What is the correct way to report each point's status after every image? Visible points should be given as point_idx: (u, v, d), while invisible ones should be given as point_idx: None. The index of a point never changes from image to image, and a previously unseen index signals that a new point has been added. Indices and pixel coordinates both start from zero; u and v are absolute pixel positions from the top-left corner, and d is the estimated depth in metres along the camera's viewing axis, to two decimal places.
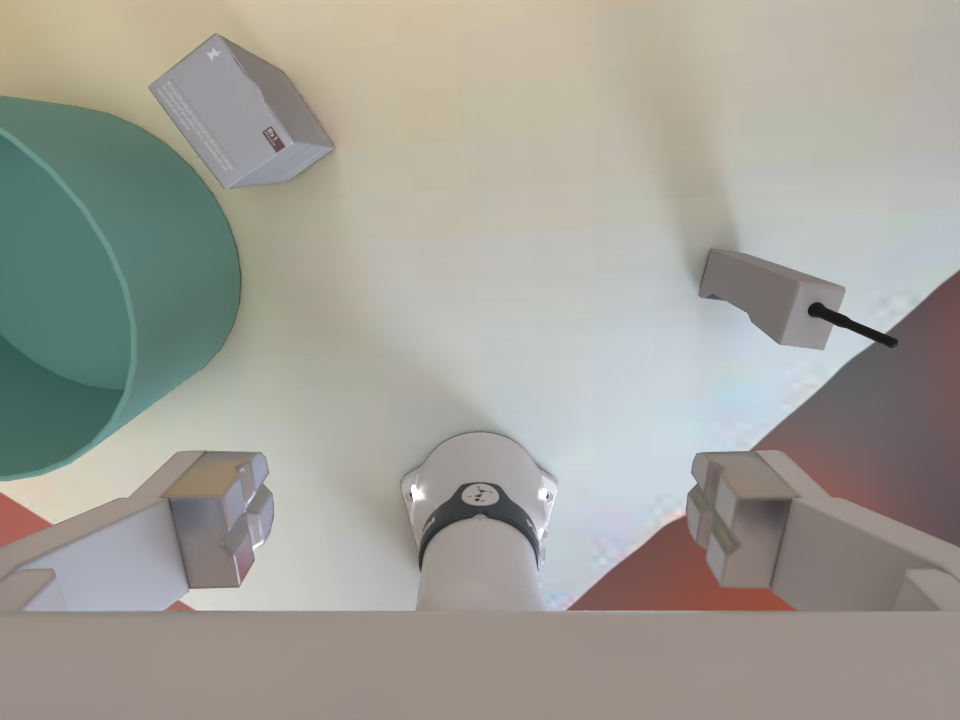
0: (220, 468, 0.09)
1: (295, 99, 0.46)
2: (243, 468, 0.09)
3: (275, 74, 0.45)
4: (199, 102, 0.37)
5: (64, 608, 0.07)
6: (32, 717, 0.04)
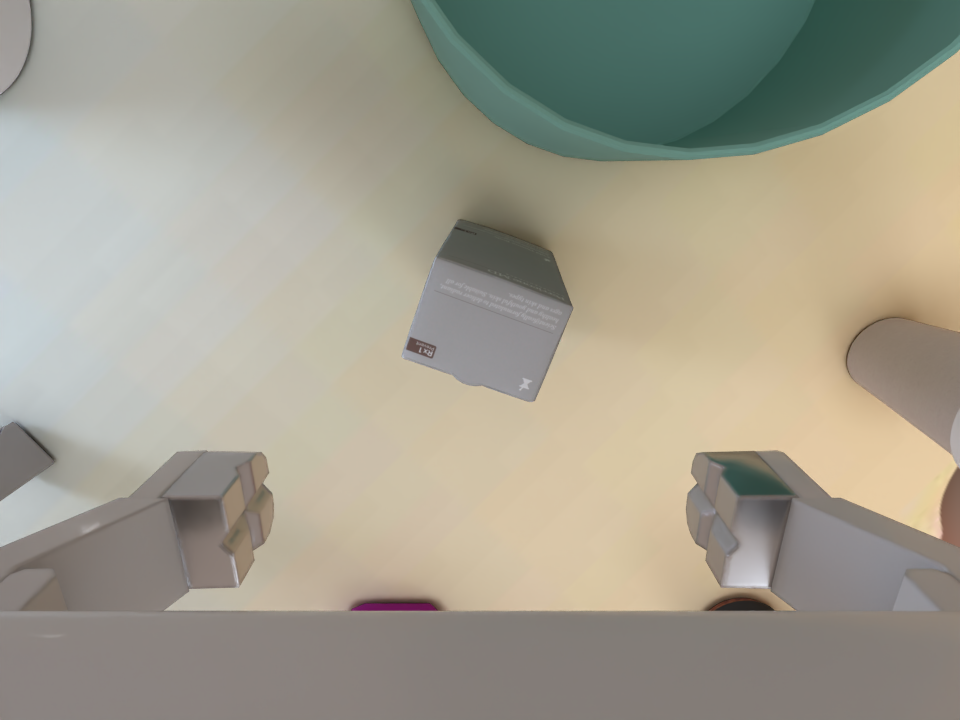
0: (220, 468, 0.09)
1: None
2: (243, 468, 0.09)
3: None
4: (512, 330, 0.29)
5: (64, 608, 0.07)
6: (32, 718, 0.04)
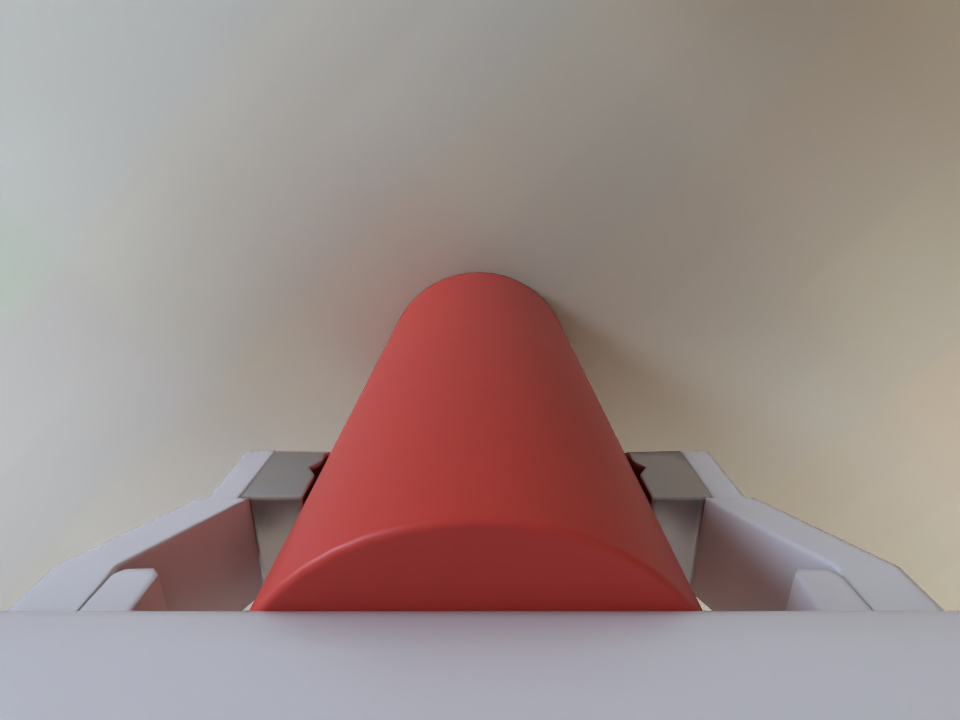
0: (294, 468, 0.09)
1: None
2: (314, 468, 0.09)
3: None
4: None
5: (164, 608, 0.07)
6: (32, 718, 0.04)
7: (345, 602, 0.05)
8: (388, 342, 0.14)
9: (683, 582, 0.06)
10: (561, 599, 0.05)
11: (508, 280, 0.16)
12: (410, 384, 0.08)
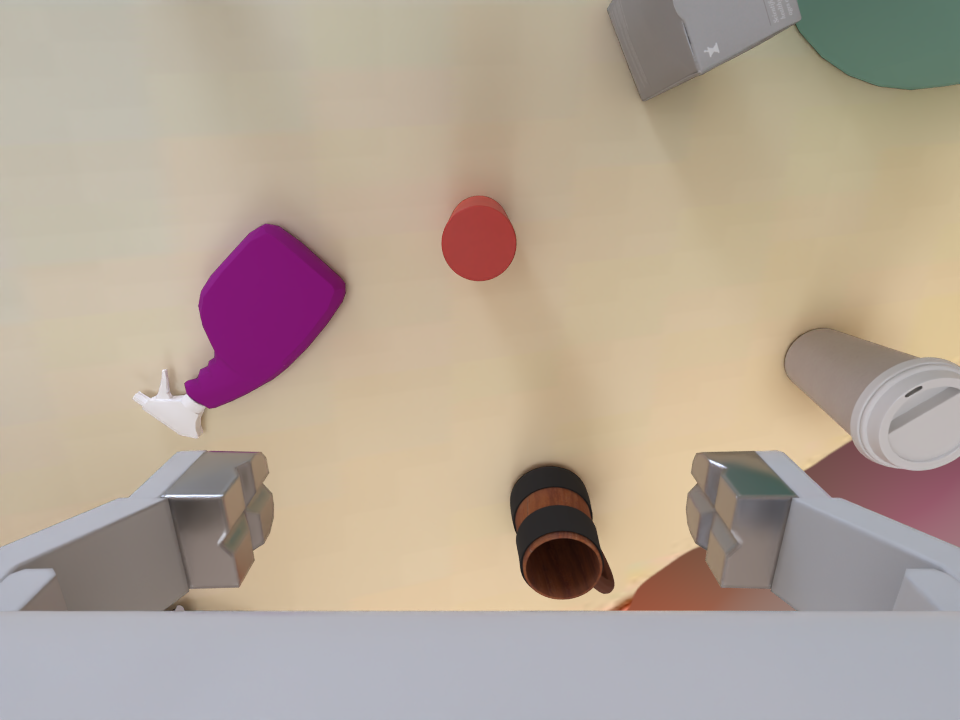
0: (220, 468, 0.09)
1: (637, 49, 0.41)
2: (243, 468, 0.09)
3: (651, 75, 0.41)
4: None
5: (64, 608, 0.07)
6: (32, 718, 0.04)
7: (461, 218, 0.39)
8: None
9: (508, 219, 0.39)
10: (490, 218, 0.39)
11: (488, 197, 0.49)
12: (465, 204, 0.42)
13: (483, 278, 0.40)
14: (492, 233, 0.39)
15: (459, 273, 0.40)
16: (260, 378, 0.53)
